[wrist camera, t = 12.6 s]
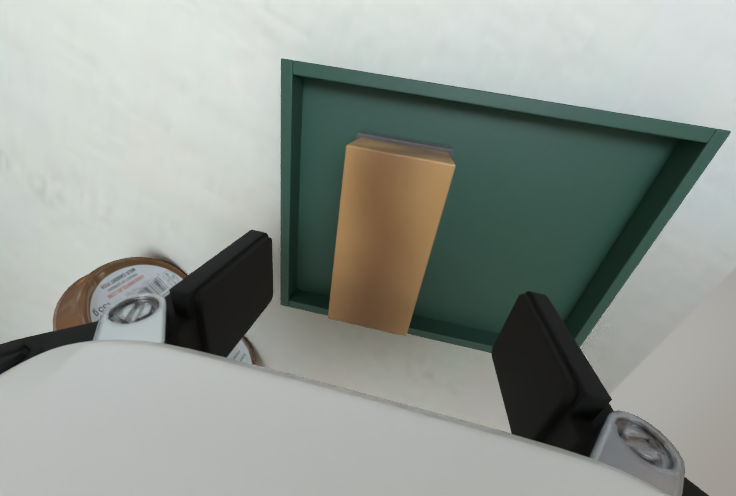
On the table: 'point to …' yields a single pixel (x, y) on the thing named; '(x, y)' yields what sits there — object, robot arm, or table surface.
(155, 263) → the tin
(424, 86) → the tray
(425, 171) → the eraser
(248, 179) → the table surface
